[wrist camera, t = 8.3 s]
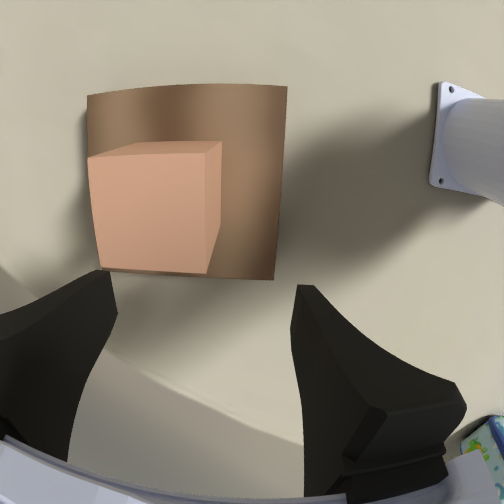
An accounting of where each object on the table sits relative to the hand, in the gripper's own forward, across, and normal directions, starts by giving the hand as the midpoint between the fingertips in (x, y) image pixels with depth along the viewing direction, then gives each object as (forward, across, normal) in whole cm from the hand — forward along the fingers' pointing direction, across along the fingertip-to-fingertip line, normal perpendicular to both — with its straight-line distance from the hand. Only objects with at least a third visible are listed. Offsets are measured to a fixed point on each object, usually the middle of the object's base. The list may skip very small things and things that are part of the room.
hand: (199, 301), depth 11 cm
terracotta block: (+8, +3, -3) cm, 9 cm away
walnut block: (+11, +3, -2) cm, 11 cm away
